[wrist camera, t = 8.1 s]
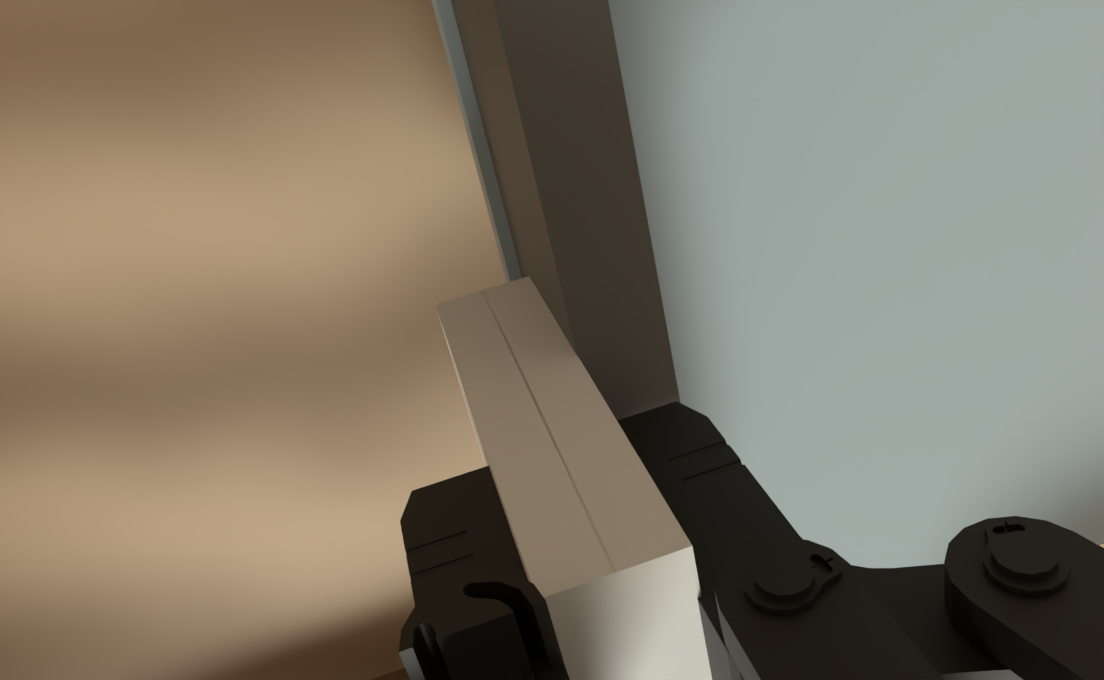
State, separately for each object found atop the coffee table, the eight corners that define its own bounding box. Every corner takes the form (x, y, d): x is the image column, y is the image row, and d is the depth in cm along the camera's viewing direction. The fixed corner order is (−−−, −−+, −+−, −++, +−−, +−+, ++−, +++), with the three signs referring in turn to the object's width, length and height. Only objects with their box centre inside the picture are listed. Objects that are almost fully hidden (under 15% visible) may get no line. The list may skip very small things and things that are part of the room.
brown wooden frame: (-726, -116, 13) (-990, -111, 10) (1425, -597, 16) (1638, -684, 14) (9, 808, 22) (-27, 932, 20) (1257, 365, 26) (1366, 420, 24)
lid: (330, -375, 11) (352, -489, 8) (1558, -645, 14) (2029, -835, 10) (618, 699, 21) (689, 875, 17) (1318, 441, 23) (1514, 549, 19)
